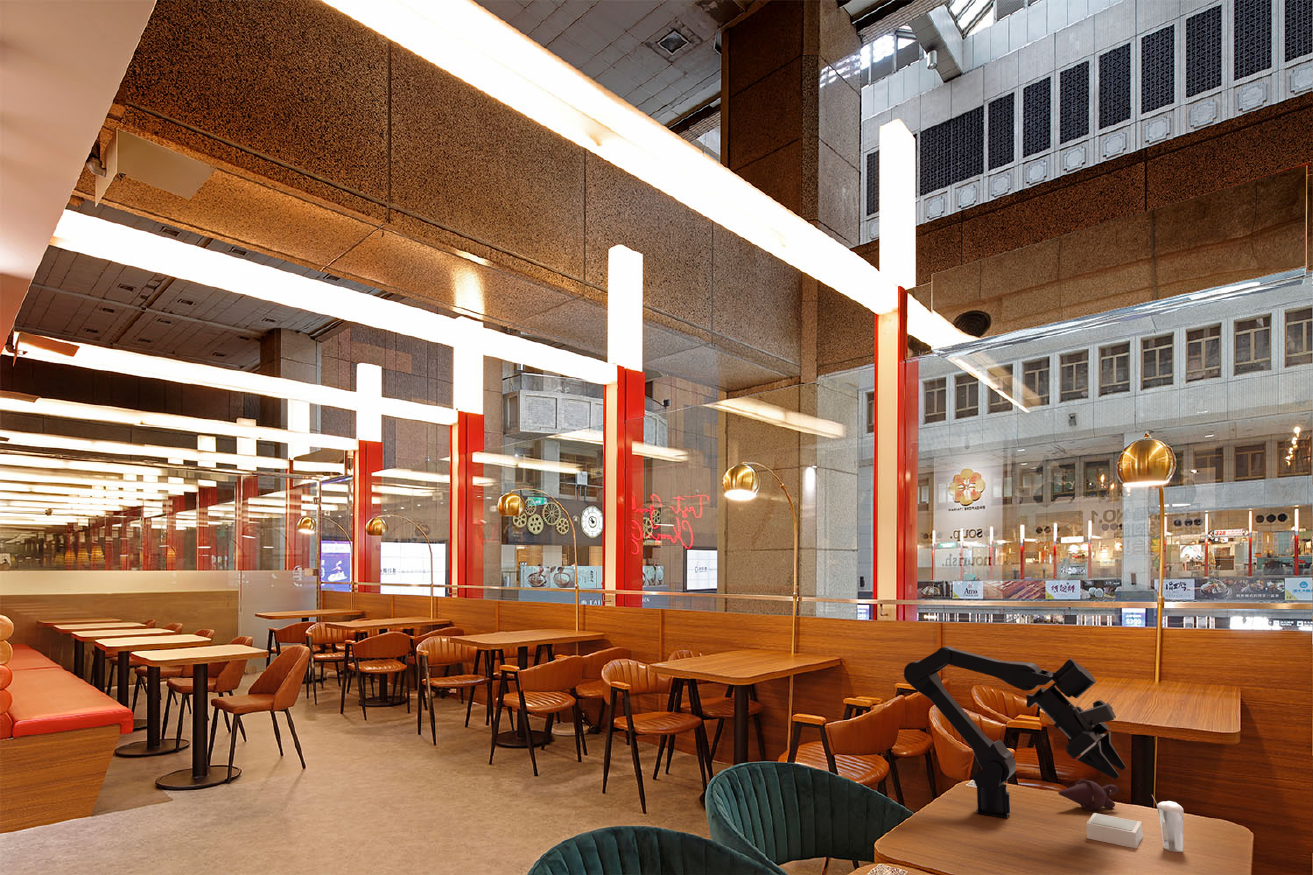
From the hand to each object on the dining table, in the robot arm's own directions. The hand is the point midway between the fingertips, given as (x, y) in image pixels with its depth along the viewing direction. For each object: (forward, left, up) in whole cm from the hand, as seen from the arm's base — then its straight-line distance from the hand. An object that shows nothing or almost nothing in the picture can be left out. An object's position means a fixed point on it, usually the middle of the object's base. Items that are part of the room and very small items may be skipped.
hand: (1120, 772), depth 168 cm
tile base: (-2, 0, -13) cm, 13 cm away
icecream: (-6, +20, -14) cm, 25 cm away
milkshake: (+8, -2, -14) cm, 16 cm away
